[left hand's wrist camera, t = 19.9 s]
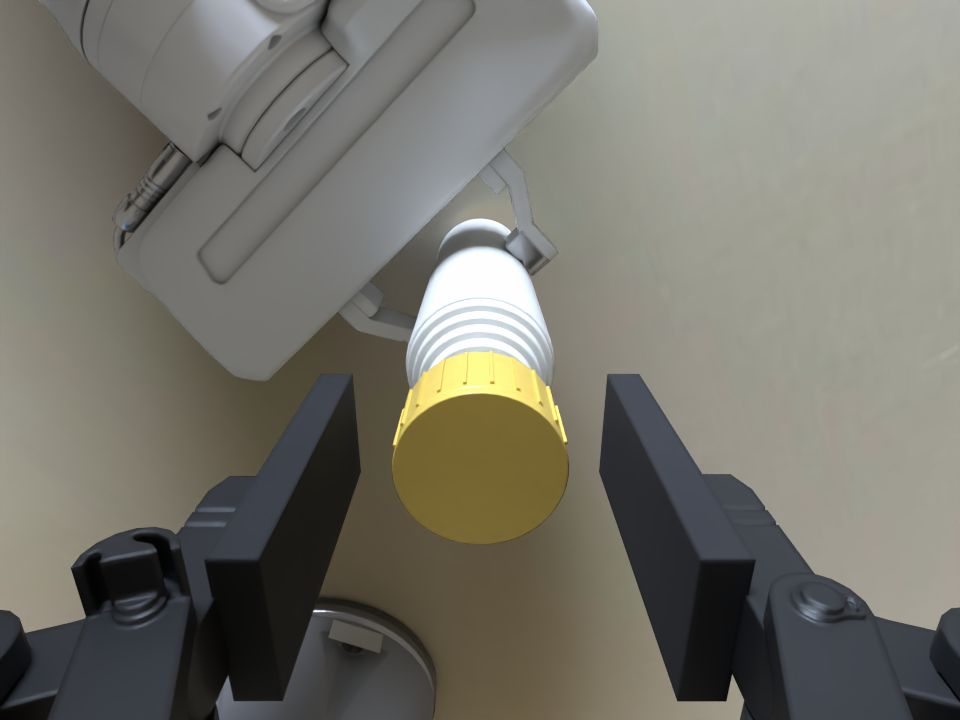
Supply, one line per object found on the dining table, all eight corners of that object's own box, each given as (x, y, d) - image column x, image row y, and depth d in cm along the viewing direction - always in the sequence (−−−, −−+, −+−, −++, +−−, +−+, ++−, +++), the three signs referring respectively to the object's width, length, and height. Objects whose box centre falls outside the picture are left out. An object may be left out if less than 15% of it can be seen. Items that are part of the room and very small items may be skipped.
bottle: (462, 316, 33) (440, 565, 15) (421, 243, 32) (339, 416, 13) (536, 279, 32) (613, 491, 14) (498, 202, 31) (527, 325, 12)
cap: (373, 390, 15) (354, 437, 12) (516, 321, 14) (523, 358, 12) (448, 508, 16) (443, 570, 14) (582, 450, 15) (600, 505, 13)
